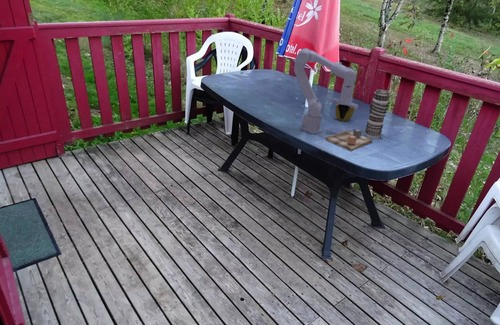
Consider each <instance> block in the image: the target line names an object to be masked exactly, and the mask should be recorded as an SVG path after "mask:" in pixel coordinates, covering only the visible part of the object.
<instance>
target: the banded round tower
mask: <svg viewBox="0 0 500 325" xmlns="http://www.w3.org/2000/svg"><path fill="white" fill-rule="evenodd" d="M373 92H374V95H373V98H372V100H371V102H370V106H369V107H370V108H369V113H368V114H369V117H368V120H367V121H366V127H365V129H364V136H365V137H367V138H371V139H372V138H373V139H379V138H381V135H382V132H383V127H384V119H385V117H386V114H387V111H388V107H389V104H390V101H389V100H390V99H389V98H390V96H391V94H390V93H389V92H390V91H388V89H387V90H386V89H383V88H382V89H376V91H373Z"/></svg>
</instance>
